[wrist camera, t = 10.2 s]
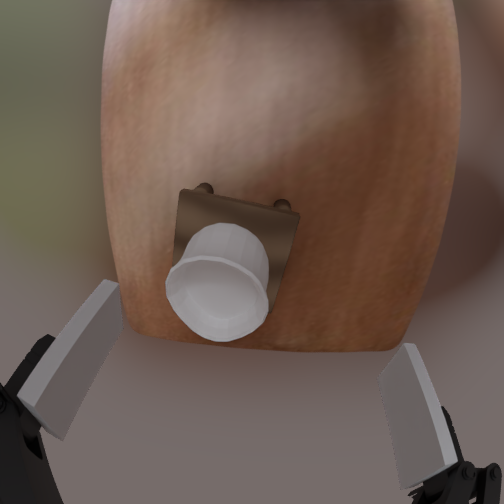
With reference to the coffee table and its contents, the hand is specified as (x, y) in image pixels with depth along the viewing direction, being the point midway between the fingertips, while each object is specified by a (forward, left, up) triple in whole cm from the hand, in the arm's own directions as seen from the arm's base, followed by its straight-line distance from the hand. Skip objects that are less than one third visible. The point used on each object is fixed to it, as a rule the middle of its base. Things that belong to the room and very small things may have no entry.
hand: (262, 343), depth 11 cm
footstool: (+8, -3, -29) cm, 30 cm away
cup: (+8, -3, -22) cm, 23 cm away
